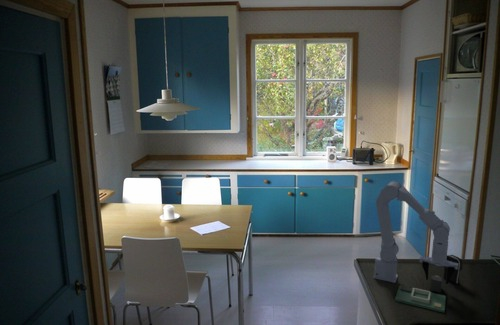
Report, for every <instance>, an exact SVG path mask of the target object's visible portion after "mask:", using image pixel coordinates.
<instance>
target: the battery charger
mask: <svg viewBox="0 0 500 325" xmlns="http://www.w3.org/2000/svg"><path fill="white" fill-rule="evenodd" d="M447 260H448V261H451V262H454V263H458V269H455V271H454V273H453V274H452V275H451V277H450V279H449V281H448V282H451V283H452V284H459V283H460V273H461V271H462V270H463V265H464V264H463V259H462V258H460V257H458V256H456V255H454V254H447ZM443 267H444V269H443V278H444V279H445V280H446V278H447V273H448V267H445V266H443Z"/></svg>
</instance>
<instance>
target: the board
mask: <svg viewBox="0 0 500 325" xmlns="http://www.w3.org/2000/svg"><path fill="white" fill-rule="evenodd" d="M446 297H447V296H446V295H444V294H439V293H434V292H432V291H431V290H430V291H429V290H427V289H426V290H425V289H421V288H416V287H410V286H409V287H408V286H405V285H399V286H398V289H397V291H396V296H395V298H394V300H395V302H398V303H402V304H405V305H410V306H411V305H412V306H414V307H418V308H424V309H427V310H432V311H435V312H439V313H443V314H444V313H445V310H446V309H445V308H446Z"/></svg>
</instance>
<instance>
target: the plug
mask: <svg viewBox="0 0 500 325" xmlns="http://www.w3.org/2000/svg"><path fill="white" fill-rule="evenodd" d="M442 283H443V277H442V276H440V275H431V281H430V291H431V292H432V291H433V292H436V293H437V292H438V293H441V292H442V285H443V284H442Z"/></svg>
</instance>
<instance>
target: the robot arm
mask: <svg viewBox="0 0 500 325" xmlns="http://www.w3.org/2000/svg"><path fill="white" fill-rule="evenodd" d="M395 199H396V201H399V202H405V203H406V204H407V205H408V206H409V207H410V208H412V209H413V210H414V211H415V212H416V213H417V214H418V218H419V221H421V222H422V223H423V224H424V225H426V227H427V228H428V229H429V230H431V231H432V234H433V240H432V248H431V257H429V256H420V257H419V263H422V264H421V265H422V266H421V267H422V268H423V271H424V274H425V275H424V276H425V280H426V281H428V280H429V267H430V265H435V266H437V267H444V266H445V267H448V273H447V278H446V279H445V284H446V285H449V282H450V281H449V279H450V277H451V275H452V274H453V273H454V271H455V269H458V263H454V262H451V261H448V260H447V255H448V249H449V248H448V247H449V236H450V231H451V228H450V225H449V224H448V223H447V222H446V221H444V220H443V219H441V218H439V217H438V215H436V211H434V210H431V209H429V208H425V207H424V206H423V205H422V204H421V202H419V201H418V200H417V198H415V197H414V196H413V194H412V193H411V192H410V191H409V190H408V189H407V188H406V186H404V185H402V184H401V183H400V182H399V181H397V180H391V181H390V182H388V183H387V184H386V185H385V186H384V187H382V189H381V190H380V192H379V194H378V196H377V198H376V200H375V204H376V205H375V206H376V211H377V212H376V213H377V217H378V223H379V230H380V231H379V232H380V237H381V243H380V247H381V248H380V252H379V256H376V257H375V260H374V269H373V271H374V272H373V279H375V280H381V281H385V282H390V283H394V284H396V282H397V279H398V277H399V275H398V274H397V270H398V258H397V254H398V253H399V250H400V249H399V246H398V244H397V243H396V239H395V237H394V233H393V227H392V226H393V225H392V220H391V214H390V206H389V204H390V203H391V201H393V200H395Z"/></svg>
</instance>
